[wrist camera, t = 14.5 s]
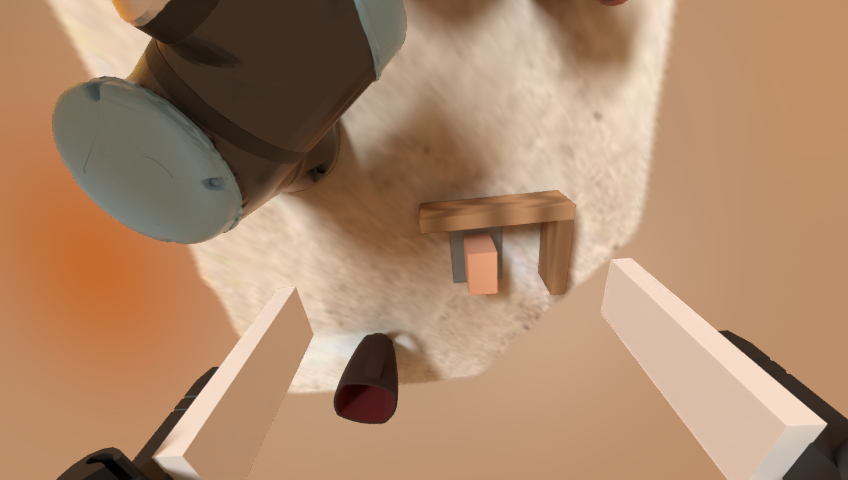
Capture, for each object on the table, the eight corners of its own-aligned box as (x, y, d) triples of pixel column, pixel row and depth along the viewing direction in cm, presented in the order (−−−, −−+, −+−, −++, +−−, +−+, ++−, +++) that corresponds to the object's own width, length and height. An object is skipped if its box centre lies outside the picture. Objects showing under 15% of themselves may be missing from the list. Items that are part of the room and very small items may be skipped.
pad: (453, 282, 51) (453, 282, 50) (448, 223, 46) (448, 223, 46) (501, 278, 50) (501, 278, 50) (501, 217, 45) (501, 218, 45)
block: (463, 235, 46) (467, 254, 41) (489, 232, 46) (497, 251, 41) (465, 273, 50) (470, 295, 44) (489, 270, 49) (497, 293, 44)
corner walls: (429, 281, 51) (430, 304, 45) (420, 204, 44) (418, 220, 39) (550, 271, 49) (564, 293, 44) (557, 190, 43) (575, 204, 38)
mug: (347, 358, 59) (330, 417, 49) (358, 305, 53) (341, 359, 43) (396, 367, 60) (389, 428, 50) (413, 316, 54) (409, 372, 44)
